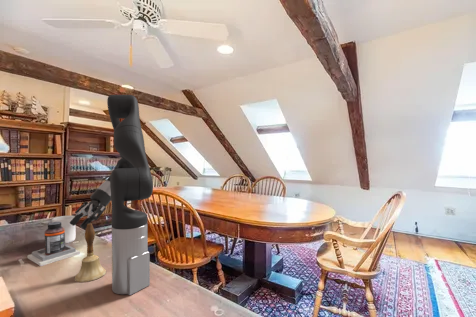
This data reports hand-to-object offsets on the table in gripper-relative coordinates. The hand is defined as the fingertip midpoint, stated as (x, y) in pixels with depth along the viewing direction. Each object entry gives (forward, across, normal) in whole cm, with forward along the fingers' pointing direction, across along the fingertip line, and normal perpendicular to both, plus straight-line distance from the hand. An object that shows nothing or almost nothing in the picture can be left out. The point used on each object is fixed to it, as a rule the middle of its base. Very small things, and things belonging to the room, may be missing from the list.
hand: (76, 226), depth 95 cm
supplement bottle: (+11, 0, +1) cm, 11 cm away
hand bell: (+12, +27, +1) cm, 30 cm away
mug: (+6, -17, +8) cm, 19 cm away
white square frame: (+12, 0, +1) cm, 12 cm away
